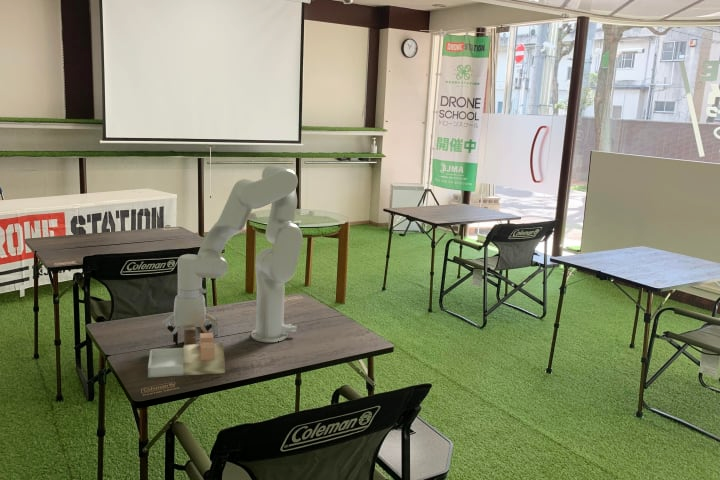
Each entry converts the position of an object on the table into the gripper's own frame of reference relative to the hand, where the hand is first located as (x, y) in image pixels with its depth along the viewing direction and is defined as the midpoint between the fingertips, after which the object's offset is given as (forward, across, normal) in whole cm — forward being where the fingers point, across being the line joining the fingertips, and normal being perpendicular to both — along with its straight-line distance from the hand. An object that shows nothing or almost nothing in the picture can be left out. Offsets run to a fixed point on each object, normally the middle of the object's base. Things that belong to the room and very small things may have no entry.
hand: (189, 343), depth 206 cm
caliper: (+2, -5, -19) cm, 20 cm away
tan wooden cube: (-2, -5, +18) cm, 19 cm away
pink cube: (-2, -5, +10) cm, 11 cm away
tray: (+2, +7, +14) cm, 16 cm away
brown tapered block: (+2, 0, 0) cm, 2 cm away
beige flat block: (+2, -4, +14) cm, 15 cm away
